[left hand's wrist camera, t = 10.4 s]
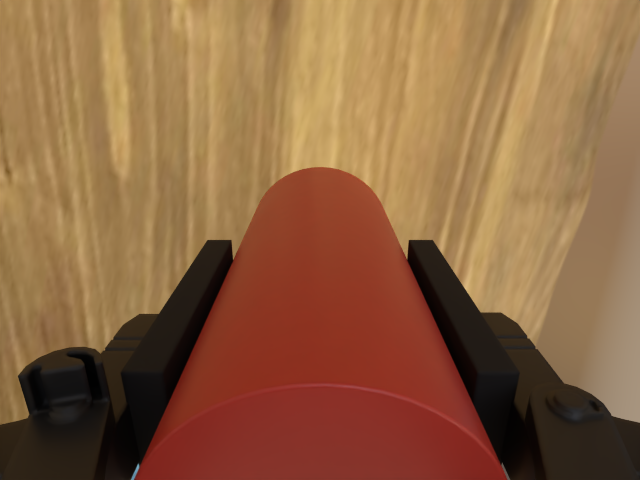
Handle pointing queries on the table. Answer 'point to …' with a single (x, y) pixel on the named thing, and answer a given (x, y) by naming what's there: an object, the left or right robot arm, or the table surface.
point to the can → (320, 357)
